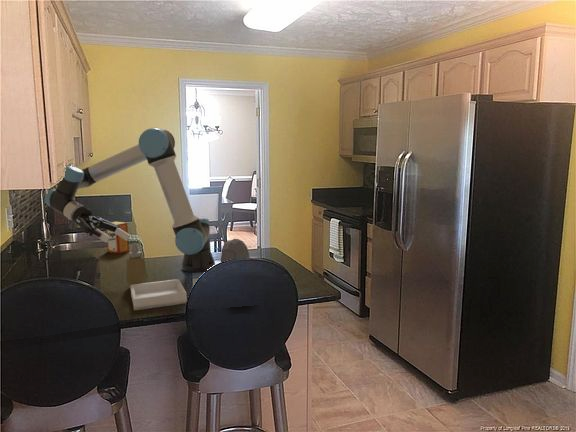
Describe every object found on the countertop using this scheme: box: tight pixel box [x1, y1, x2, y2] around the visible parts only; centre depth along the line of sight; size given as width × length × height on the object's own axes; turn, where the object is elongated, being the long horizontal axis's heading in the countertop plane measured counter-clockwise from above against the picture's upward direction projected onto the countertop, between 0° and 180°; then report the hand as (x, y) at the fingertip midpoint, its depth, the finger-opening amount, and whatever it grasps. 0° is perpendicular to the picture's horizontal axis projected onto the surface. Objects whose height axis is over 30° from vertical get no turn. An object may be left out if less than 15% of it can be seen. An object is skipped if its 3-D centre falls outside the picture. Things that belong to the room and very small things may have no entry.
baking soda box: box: [105, 221, 130, 255], centre depth 246 cm, size 10×6×16 cm
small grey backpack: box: [220, 238, 250, 263], centre depth 178 cm, size 15×8×20 cm, turn 157°
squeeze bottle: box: [125, 242, 148, 289], centre depth 182 cm, size 8×8×18 cm
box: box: [129, 278, 188, 311], centre depth 169 cm, size 18×18×4 cm
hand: (118, 238), depth 185 cm, fingers open, 13 cm apart
